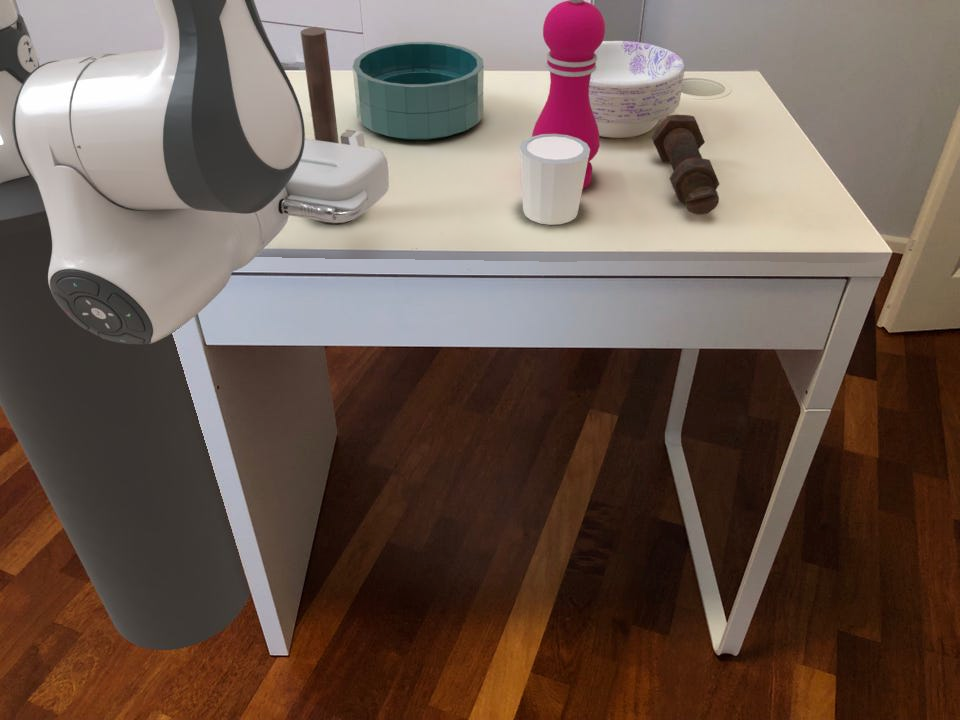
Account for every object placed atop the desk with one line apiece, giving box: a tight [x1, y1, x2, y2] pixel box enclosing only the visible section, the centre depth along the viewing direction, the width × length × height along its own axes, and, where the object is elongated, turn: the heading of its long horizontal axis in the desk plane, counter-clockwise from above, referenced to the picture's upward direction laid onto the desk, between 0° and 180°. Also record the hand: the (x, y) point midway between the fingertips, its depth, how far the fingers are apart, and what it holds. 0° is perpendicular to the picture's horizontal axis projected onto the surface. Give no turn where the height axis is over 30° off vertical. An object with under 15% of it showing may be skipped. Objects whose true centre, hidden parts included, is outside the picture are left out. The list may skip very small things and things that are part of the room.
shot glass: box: [519, 134, 590, 226], centre depth 79 cm, size 7×7×7 cm
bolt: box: [651, 114, 720, 215], centre depth 84 cm, size 6×5×15 cm
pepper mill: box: [531, 0, 606, 190], centre depth 81 cm, size 7×7×20 cm
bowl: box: [352, 41, 485, 141], centre depth 98 cm, size 16×16×7 cm
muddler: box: [300, 27, 345, 225], centre depth 75 cm, size 4×4×18 cm
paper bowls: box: [589, 40, 686, 139], centre depth 96 cm, size 15×15×8 cm
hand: (309, 131), depth 73 cm, fingers open, 8 cm apart
